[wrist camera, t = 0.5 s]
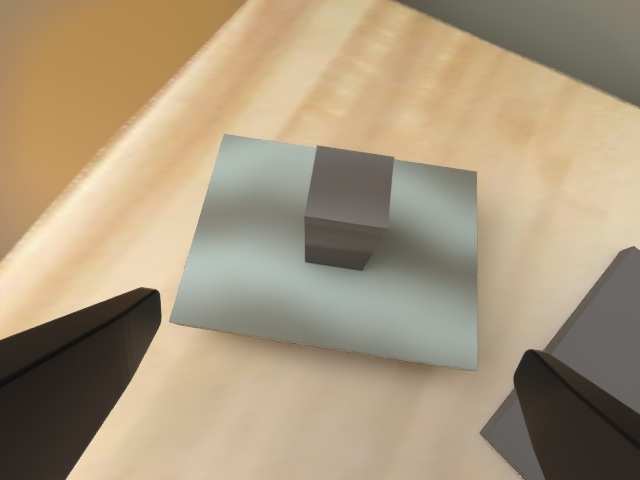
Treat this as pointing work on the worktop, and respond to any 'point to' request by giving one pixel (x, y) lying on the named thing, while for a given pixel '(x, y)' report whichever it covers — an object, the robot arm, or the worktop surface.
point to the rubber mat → (585, 356)
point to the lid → (336, 253)
